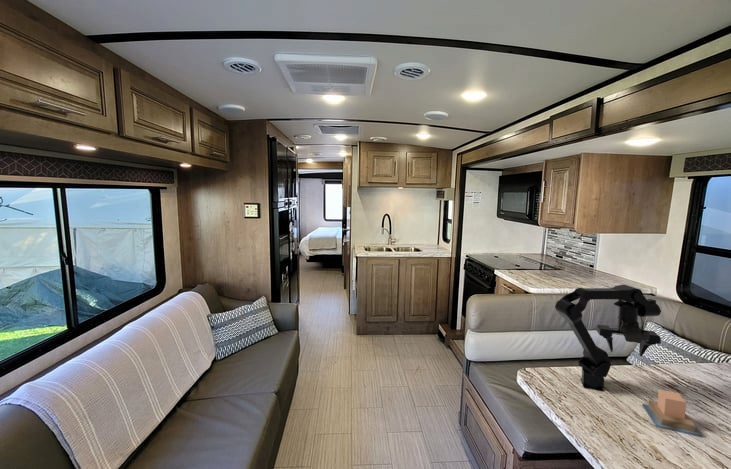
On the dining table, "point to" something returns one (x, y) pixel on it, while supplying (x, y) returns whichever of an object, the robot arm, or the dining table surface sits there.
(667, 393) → the terracotta cube
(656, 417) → the foundation block
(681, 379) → the dining table surface
